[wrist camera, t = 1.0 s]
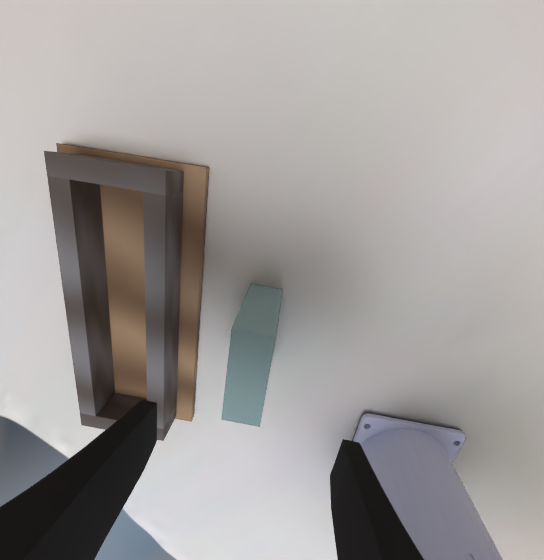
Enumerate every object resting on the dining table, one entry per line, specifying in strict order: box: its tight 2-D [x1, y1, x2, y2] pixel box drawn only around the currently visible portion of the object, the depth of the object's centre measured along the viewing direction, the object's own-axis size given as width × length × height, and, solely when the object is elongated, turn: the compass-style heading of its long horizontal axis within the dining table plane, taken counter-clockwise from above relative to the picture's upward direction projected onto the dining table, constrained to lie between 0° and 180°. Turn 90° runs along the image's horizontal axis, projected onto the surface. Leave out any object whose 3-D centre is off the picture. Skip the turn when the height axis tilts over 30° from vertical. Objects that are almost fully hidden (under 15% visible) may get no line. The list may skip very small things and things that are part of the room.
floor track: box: [44, 143, 209, 441], centre depth 19 cm, size 20×9×3 cm, turn 171°
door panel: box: [222, 284, 283, 427], centre depth 18 cm, size 6×2×6 cm, turn 171°
